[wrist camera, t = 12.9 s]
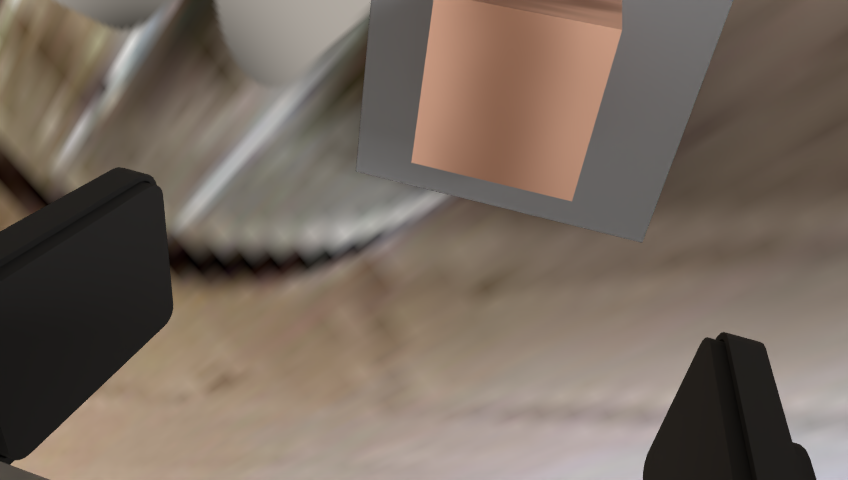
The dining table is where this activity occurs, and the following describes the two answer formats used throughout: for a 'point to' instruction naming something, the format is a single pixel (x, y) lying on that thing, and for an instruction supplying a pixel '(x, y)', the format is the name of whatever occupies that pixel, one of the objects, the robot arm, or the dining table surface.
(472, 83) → the terracotta cube
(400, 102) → the gray block
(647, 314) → the dining table surface
